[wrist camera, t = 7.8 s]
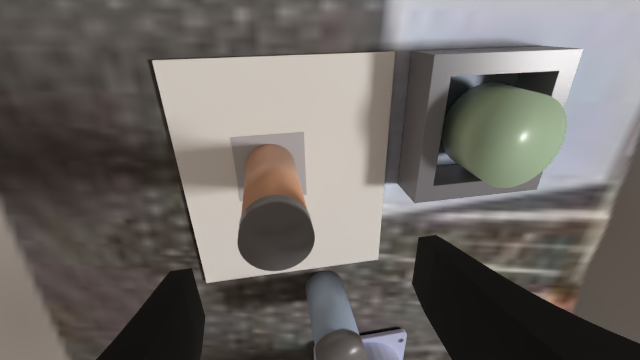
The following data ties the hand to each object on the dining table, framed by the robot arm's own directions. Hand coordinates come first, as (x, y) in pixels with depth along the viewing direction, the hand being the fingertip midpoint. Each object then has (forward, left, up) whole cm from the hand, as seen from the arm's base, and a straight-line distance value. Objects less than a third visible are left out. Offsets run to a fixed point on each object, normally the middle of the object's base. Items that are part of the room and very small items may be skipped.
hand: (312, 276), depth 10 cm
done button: (+2, -11, -8) cm, 14 cm away
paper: (-1, 0, -9) cm, 9 cm away
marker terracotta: (0, +1, -9) cm, 9 cm away
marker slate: (-10, -2, -9) cm, 14 cm away
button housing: (+2, -11, -9) cm, 15 cm away
